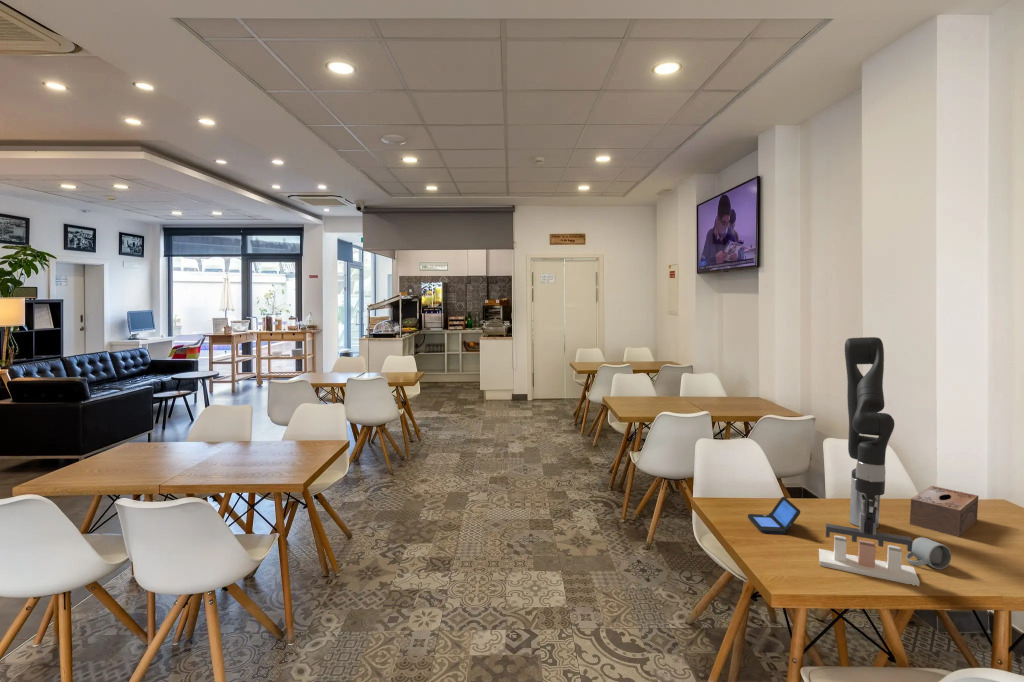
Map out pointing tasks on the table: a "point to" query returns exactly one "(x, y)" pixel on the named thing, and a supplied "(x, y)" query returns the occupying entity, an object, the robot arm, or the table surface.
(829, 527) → the gray bar
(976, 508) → the tissue box cover
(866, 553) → the display stand
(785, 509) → the handheld game console
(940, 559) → the ceramic mug
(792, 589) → the table surface
